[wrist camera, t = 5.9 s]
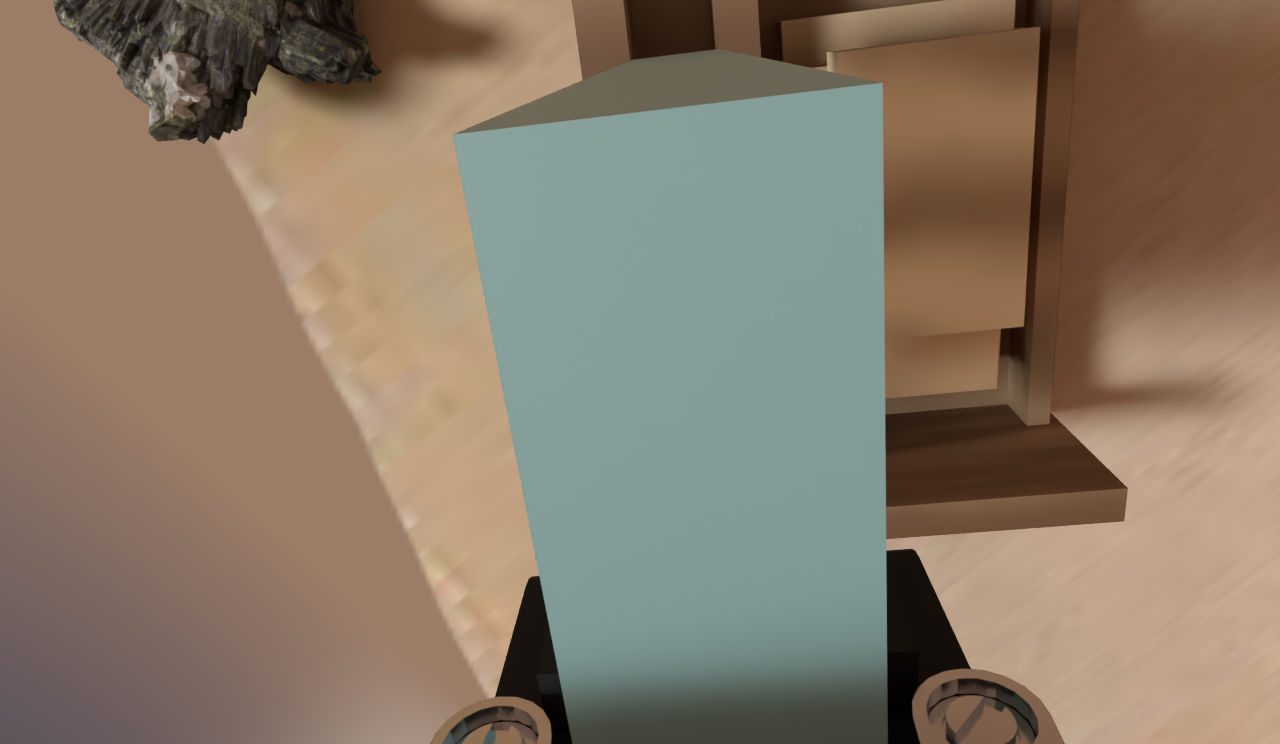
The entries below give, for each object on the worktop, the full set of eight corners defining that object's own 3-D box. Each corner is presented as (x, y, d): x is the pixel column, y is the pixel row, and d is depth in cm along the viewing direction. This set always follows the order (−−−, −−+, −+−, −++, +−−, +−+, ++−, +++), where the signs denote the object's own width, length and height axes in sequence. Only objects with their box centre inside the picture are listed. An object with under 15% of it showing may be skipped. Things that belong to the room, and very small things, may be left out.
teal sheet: (631, 60, 23) (451, 134, 5) (719, 49, 23) (882, 82, 5) (680, 485, 29) (684, 1311, 10) (752, 480, 28) (892, 1312, 10)
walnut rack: (570, -53, 35) (530, -90, 25) (1056, -120, 33) (1203, -186, 24) (637, 449, 43) (625, 558, 34) (1024, 416, 42) (1124, 521, 32)
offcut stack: (775, 22, 34) (794, 17, 29) (997, -6, 33) (1060, -17, 28) (794, 376, 40) (813, 429, 34) (983, 358, 39) (1034, 410, 34)
